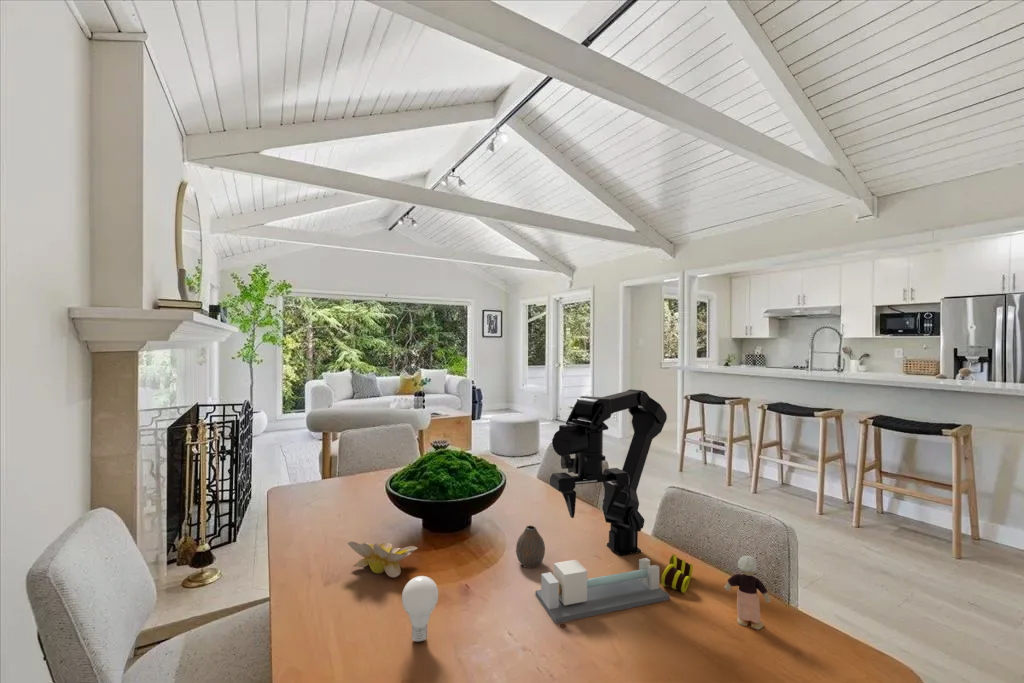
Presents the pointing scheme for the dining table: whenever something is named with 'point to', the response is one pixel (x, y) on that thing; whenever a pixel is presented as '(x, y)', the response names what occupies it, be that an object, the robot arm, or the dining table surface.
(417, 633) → the lightbulb
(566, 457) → the robot arm
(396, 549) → the decorative flower
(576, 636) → the dining table surface
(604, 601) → the linear slide rail
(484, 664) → the dining table surface
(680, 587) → the opera glasses
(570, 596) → the white square tube
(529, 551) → the vase
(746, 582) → the grandmother figurine
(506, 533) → the dining table surface
